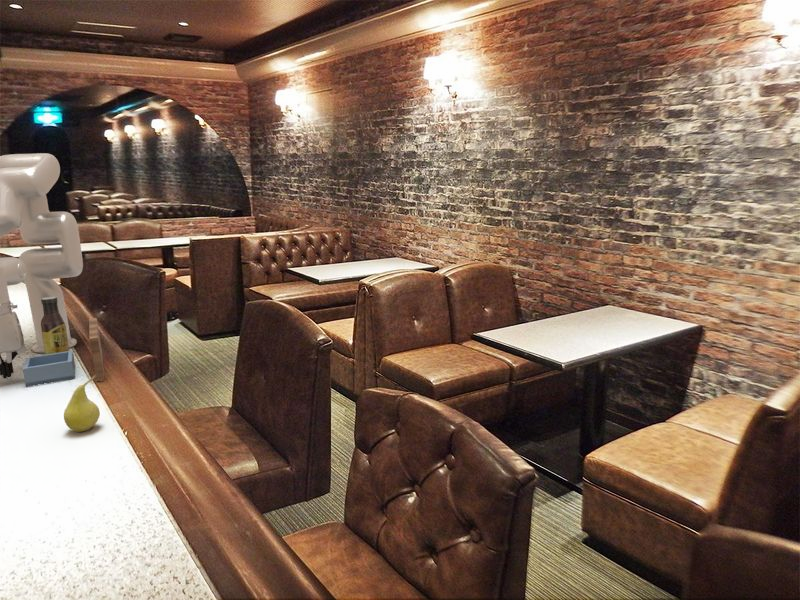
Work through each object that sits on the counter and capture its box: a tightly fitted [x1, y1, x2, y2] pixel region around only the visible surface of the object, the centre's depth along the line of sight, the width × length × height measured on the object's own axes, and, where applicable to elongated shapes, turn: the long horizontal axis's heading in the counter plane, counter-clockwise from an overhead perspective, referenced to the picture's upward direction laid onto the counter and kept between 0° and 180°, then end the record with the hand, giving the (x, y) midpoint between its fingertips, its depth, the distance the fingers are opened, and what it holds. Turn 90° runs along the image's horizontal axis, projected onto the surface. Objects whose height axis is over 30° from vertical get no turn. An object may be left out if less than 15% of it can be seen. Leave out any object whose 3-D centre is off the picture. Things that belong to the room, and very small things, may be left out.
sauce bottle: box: [41, 297, 70, 355], centre depth 182 cm, size 7×6×20 cm
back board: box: [88, 317, 106, 383], centre depth 177 cm, size 24×2×12 cm, turn 26°
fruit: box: [63, 374, 101, 433], centre depth 137 cm, size 7×8×12 cm
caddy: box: [22, 350, 76, 388], centre depth 173 cm, size 11×12×5 cm
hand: (7, 376), depth 169 cm, fingers closed
